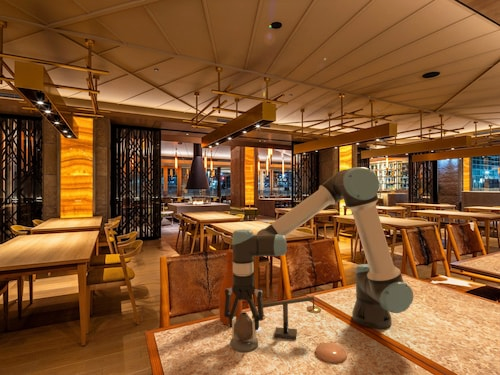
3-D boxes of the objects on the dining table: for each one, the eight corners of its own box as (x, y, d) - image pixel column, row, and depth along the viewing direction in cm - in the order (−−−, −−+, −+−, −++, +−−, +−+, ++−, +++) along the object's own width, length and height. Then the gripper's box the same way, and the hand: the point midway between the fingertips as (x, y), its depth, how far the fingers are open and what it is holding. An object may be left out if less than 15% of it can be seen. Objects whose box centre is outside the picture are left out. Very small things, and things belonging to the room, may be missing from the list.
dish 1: (260, 338, 104) (260, 335, 104) (255, 353, 94) (255, 350, 94) (234, 335, 106) (234, 333, 106) (226, 350, 96) (226, 347, 96)
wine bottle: (245, 317, 121) (244, 248, 122) (237, 327, 112) (236, 253, 112) (225, 314, 125) (224, 247, 125) (215, 324, 115) (214, 251, 116)
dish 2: (345, 347, 97) (345, 344, 97) (348, 364, 87) (348, 361, 87) (315, 344, 99) (315, 341, 99) (315, 360, 89) (315, 357, 90)
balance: (321, 335, 105) (320, 294, 105) (321, 342, 100) (320, 300, 100) (253, 328, 111) (252, 290, 111) (250, 335, 106) (250, 295, 106)
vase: (251, 344, 96) (251, 318, 96) (232, 342, 97) (232, 317, 97) (255, 333, 103) (255, 309, 103) (237, 332, 104) (236, 308, 104)
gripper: (271, 271, 102) (273, 334, 101) (220, 269, 106) (221, 329, 106) (268, 277, 94) (269, 346, 94) (213, 274, 99) (214, 340, 99)
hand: (244, 337), depth 100 cm, fingers closed on vase, 7 cm apart
